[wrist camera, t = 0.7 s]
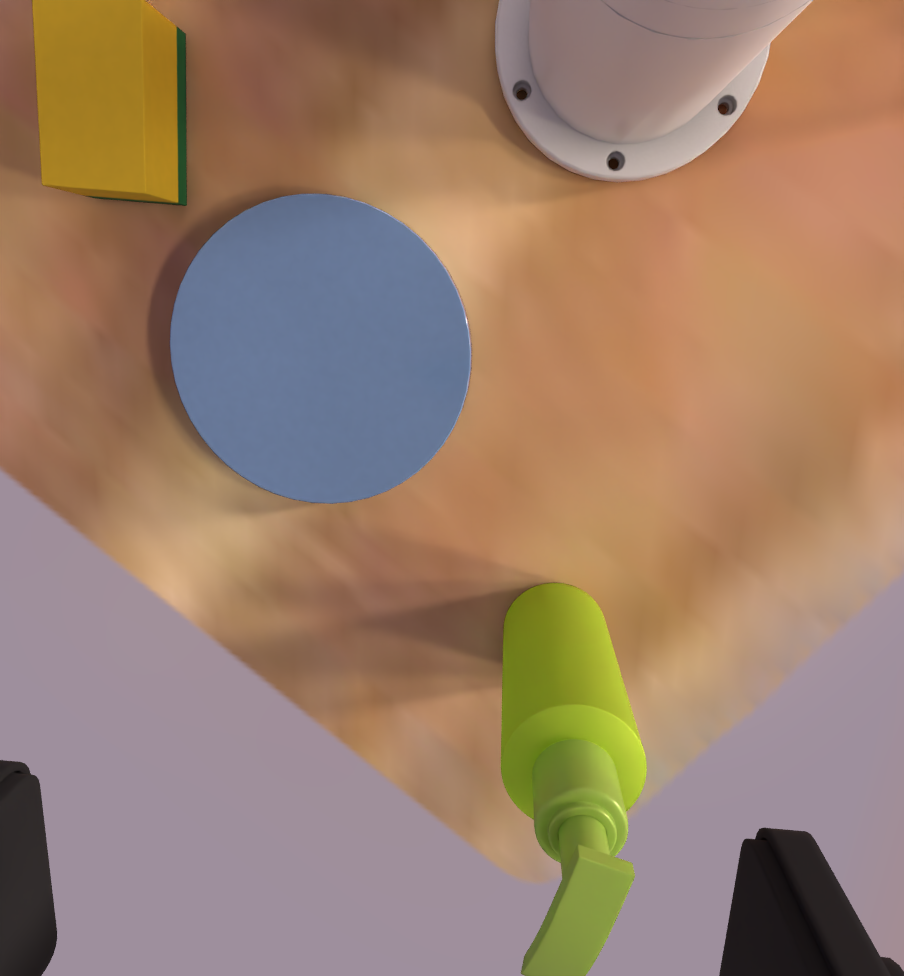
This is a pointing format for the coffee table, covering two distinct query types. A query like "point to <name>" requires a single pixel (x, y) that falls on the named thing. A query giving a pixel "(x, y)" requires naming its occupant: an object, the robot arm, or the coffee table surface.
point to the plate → (320, 348)
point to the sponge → (111, 100)
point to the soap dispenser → (570, 765)
